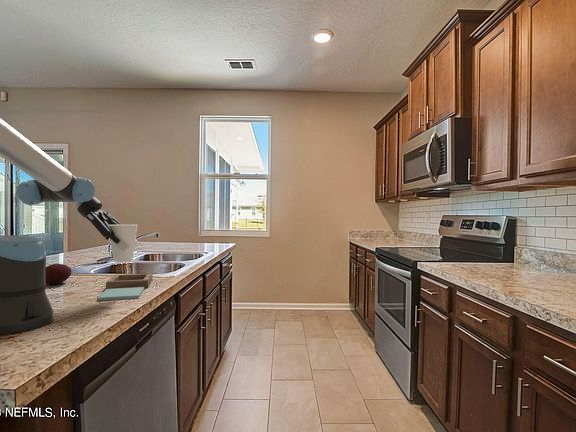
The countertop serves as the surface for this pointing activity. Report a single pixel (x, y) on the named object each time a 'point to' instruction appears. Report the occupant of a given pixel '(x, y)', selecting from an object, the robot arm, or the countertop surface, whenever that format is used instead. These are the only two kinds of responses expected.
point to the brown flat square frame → (129, 281)
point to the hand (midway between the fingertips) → (132, 247)
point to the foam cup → (129, 237)
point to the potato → (57, 273)
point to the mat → (121, 293)
